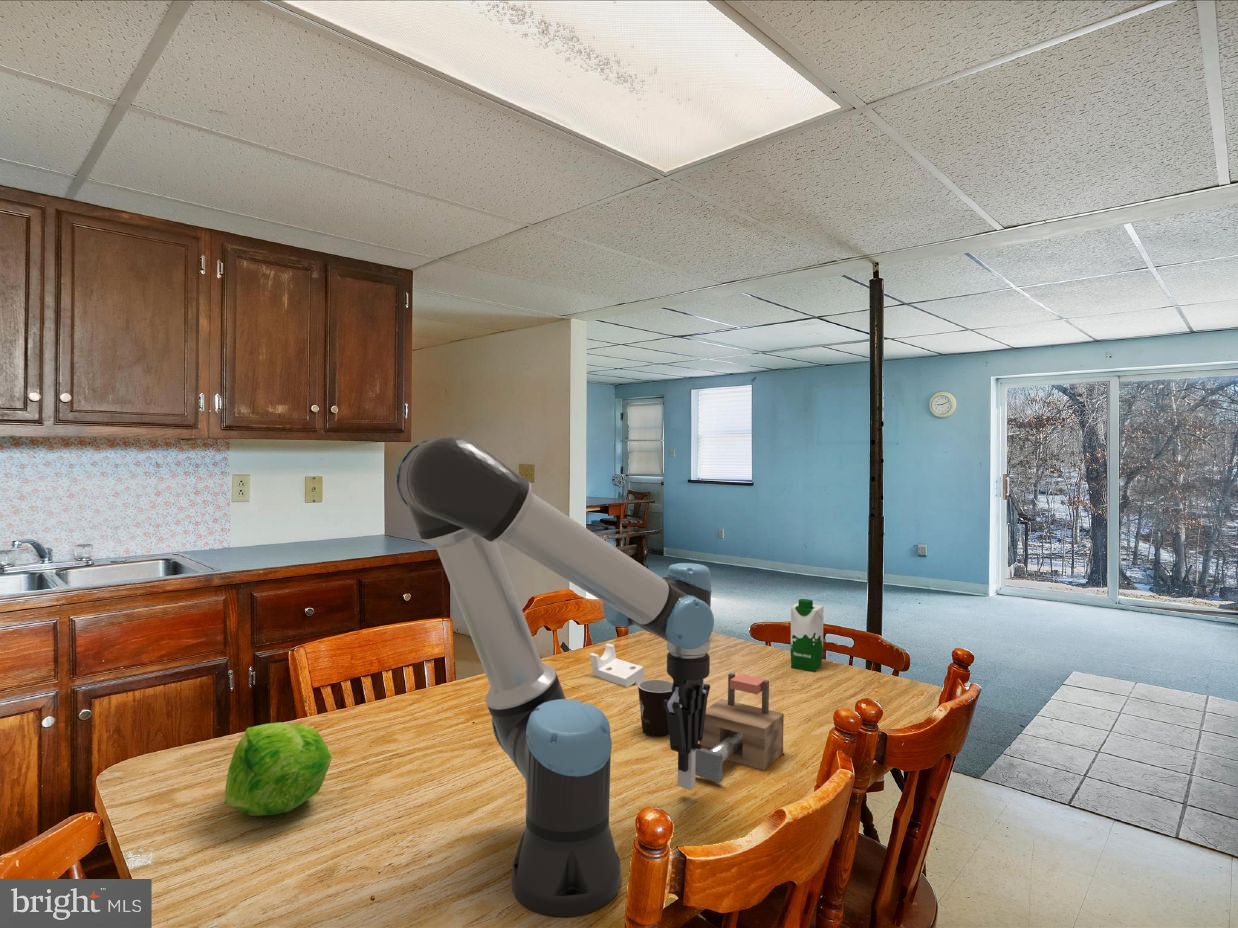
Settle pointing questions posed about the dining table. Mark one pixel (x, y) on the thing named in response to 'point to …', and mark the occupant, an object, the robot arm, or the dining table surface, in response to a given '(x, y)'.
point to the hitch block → (746, 728)
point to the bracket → (616, 668)
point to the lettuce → (276, 768)
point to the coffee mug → (654, 706)
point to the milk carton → (806, 635)
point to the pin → (716, 757)
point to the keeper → (747, 683)
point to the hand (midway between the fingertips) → (686, 786)
